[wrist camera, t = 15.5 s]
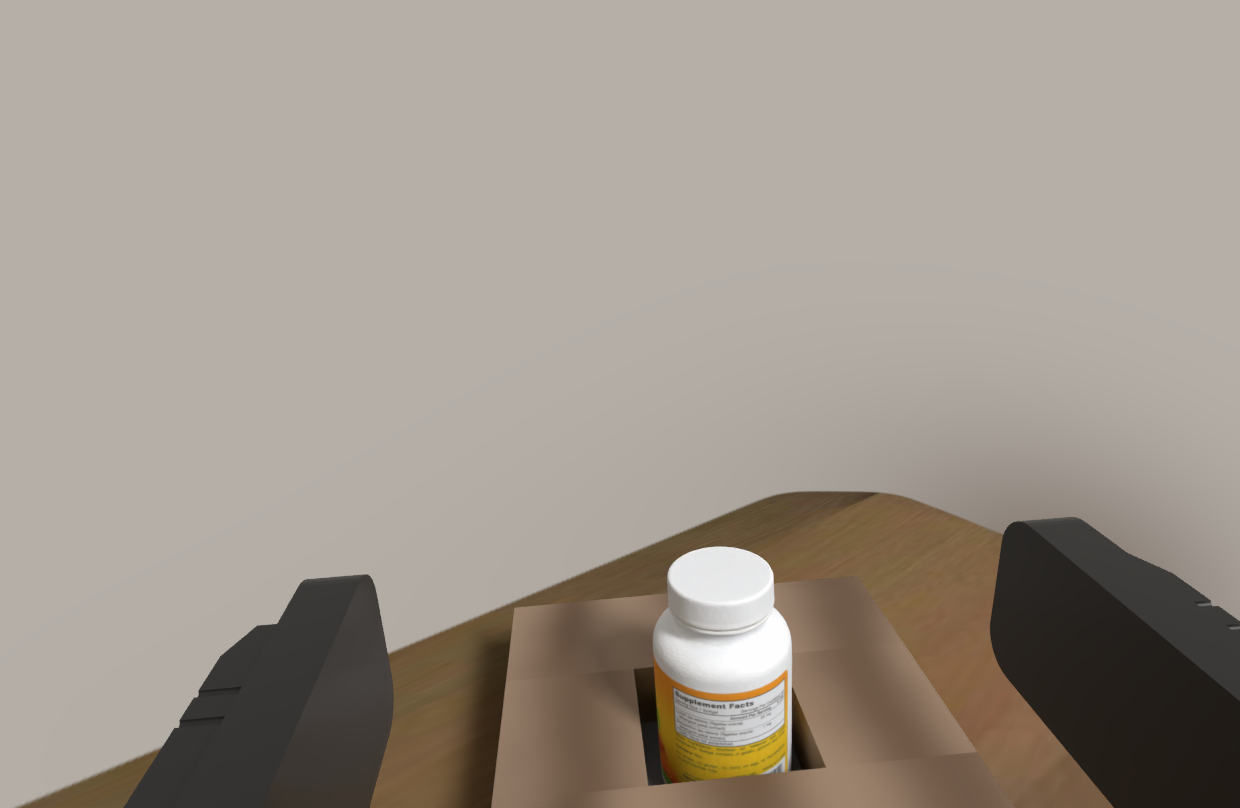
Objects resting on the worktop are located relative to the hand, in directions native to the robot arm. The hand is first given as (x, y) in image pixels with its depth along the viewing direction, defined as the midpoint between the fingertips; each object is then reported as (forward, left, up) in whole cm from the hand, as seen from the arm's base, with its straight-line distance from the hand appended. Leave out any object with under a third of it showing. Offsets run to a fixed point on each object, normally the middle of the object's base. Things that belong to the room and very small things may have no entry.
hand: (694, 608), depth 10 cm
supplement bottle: (+3, +17, -20) cm, 26 cm away
